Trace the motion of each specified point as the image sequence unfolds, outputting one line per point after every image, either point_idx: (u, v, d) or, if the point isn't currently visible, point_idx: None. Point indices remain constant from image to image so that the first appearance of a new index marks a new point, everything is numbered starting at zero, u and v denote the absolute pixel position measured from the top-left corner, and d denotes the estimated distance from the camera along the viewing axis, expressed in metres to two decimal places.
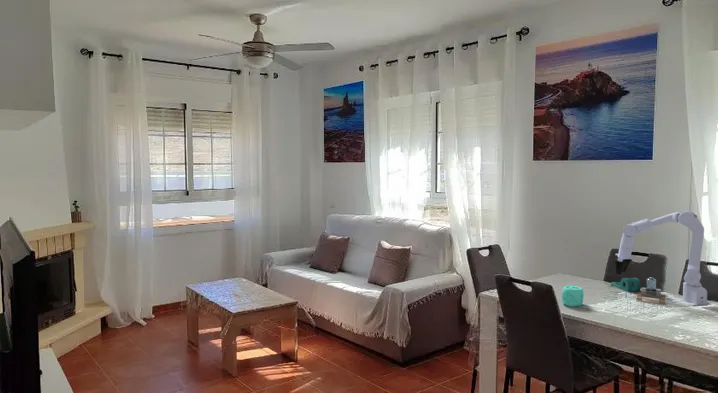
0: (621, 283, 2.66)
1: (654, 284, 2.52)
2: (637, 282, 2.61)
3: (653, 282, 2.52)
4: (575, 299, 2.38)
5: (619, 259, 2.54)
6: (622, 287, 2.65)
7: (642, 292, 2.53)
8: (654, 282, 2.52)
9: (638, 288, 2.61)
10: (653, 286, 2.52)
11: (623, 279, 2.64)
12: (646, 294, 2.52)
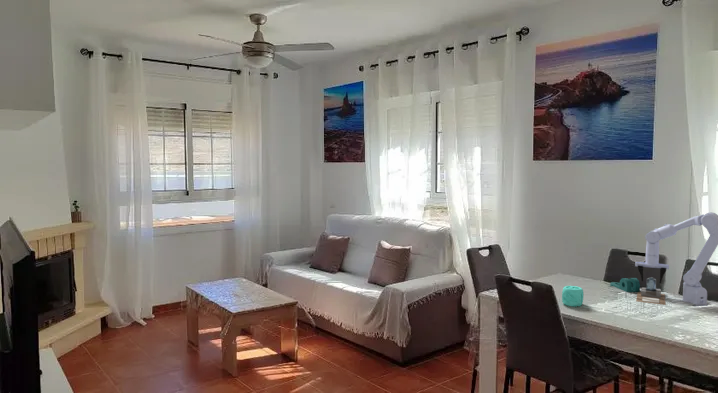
0: (620, 283, 2.66)
1: (654, 284, 2.52)
2: (636, 282, 2.61)
3: (653, 282, 2.52)
4: (575, 299, 2.38)
5: (635, 264, 2.57)
6: (621, 287, 2.65)
7: (642, 292, 2.53)
8: (654, 282, 2.52)
9: (637, 288, 2.61)
10: (653, 286, 2.52)
11: (622, 279, 2.64)
12: (646, 294, 2.52)
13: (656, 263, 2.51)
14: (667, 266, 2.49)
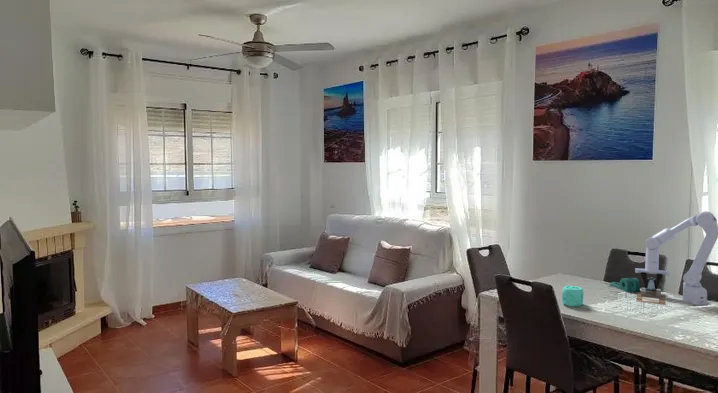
0: (620, 283, 2.66)
1: (654, 284, 2.52)
2: (636, 282, 2.61)
3: (653, 282, 2.52)
4: (575, 299, 2.38)
5: (635, 270, 2.58)
6: (621, 287, 2.65)
7: (642, 292, 2.53)
8: (654, 282, 2.52)
9: (637, 288, 2.60)
10: (653, 286, 2.52)
11: (622, 279, 2.64)
12: (646, 294, 2.52)
13: (656, 269, 2.51)
14: (667, 272, 2.50)
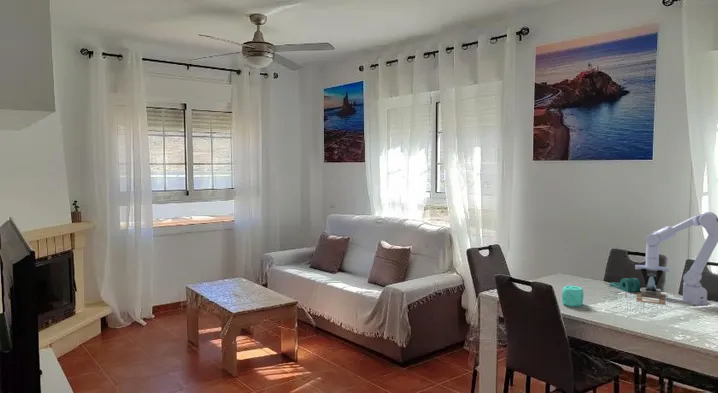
0: (621, 283, 2.65)
1: (654, 280, 2.52)
2: (637, 282, 2.61)
3: (653, 278, 2.52)
4: (575, 299, 2.38)
5: (635, 267, 2.57)
6: (622, 287, 2.65)
7: (642, 292, 2.53)
8: (654, 278, 2.52)
9: (638, 288, 2.60)
10: (653, 282, 2.52)
11: (623, 279, 2.64)
12: (646, 294, 2.52)
13: (656, 266, 2.51)
14: (667, 269, 2.49)
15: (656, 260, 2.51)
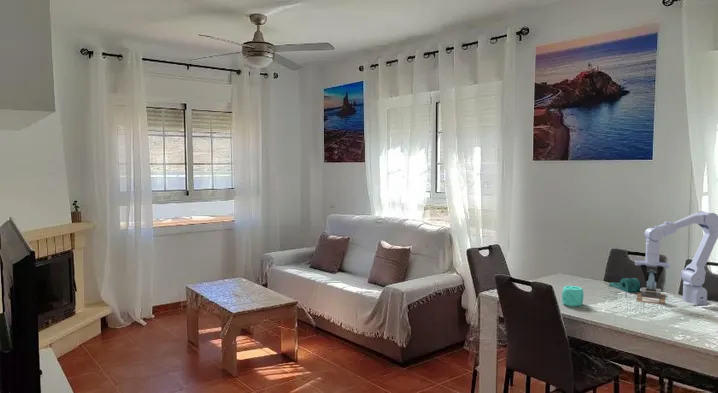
0: (620, 283, 2.65)
1: (654, 277, 2.42)
2: (637, 282, 2.60)
3: (653, 275, 2.42)
4: (575, 299, 2.38)
5: None
6: (622, 287, 2.64)
7: (642, 292, 2.53)
8: (654, 275, 2.42)
9: (638, 288, 2.60)
10: (653, 279, 2.42)
11: (623, 279, 2.63)
12: (646, 294, 2.52)
13: (656, 262, 2.40)
14: (668, 265, 2.39)
15: (656, 256, 2.40)
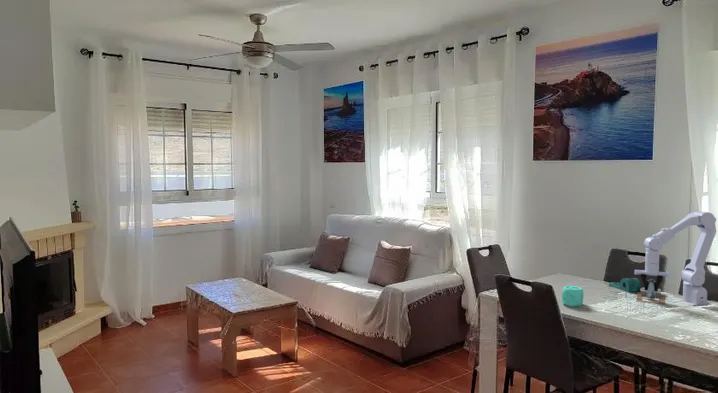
0: (621, 283, 2.65)
1: (654, 286, 2.43)
2: (637, 282, 2.60)
3: (653, 284, 2.42)
4: (575, 299, 2.38)
5: None
6: (622, 287, 2.64)
7: (642, 292, 2.53)
8: (654, 284, 2.42)
9: (638, 288, 2.60)
10: (653, 288, 2.42)
11: (623, 279, 2.63)
12: None
13: (656, 271, 2.41)
14: (668, 274, 2.39)
15: (656, 265, 2.41)
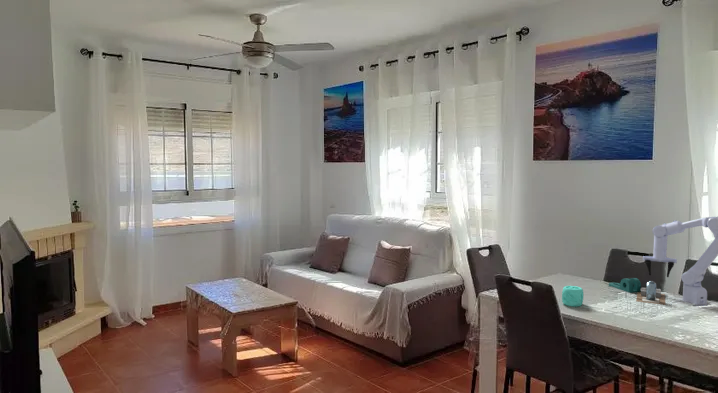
0: (621, 284, 2.65)
1: (654, 288, 2.42)
2: (637, 282, 2.60)
3: (653, 286, 2.42)
4: (575, 299, 2.38)
5: None
6: (622, 288, 2.64)
7: (642, 292, 2.53)
8: (654, 286, 2.42)
9: (638, 289, 2.60)
10: (653, 290, 2.42)
11: (623, 280, 2.63)
12: None
13: (664, 257, 2.51)
14: (675, 260, 2.50)
15: (664, 251, 2.51)
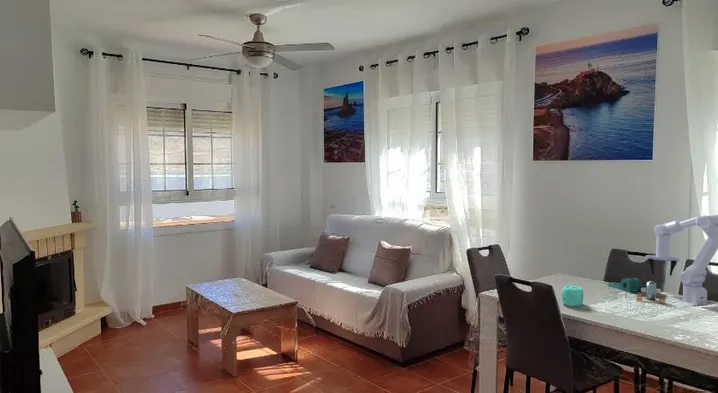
0: (621, 284, 2.64)
1: (654, 288, 2.42)
2: (638, 282, 2.60)
3: (653, 286, 2.42)
4: (575, 299, 2.38)
5: None
6: (623, 288, 2.64)
7: (642, 292, 2.53)
8: (654, 286, 2.42)
9: (639, 289, 2.60)
10: (653, 290, 2.42)
11: (624, 280, 2.63)
12: None
13: (667, 256, 2.54)
14: (677, 259, 2.53)
15: (667, 250, 2.54)
